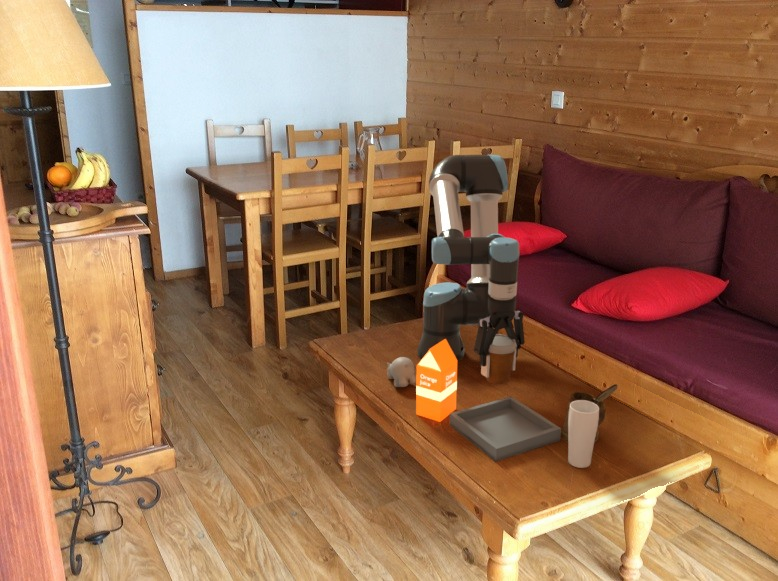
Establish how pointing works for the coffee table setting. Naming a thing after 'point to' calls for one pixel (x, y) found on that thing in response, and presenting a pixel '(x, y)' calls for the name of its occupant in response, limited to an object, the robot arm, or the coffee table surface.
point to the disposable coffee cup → (501, 359)
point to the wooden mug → (589, 397)
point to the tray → (504, 428)
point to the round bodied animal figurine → (402, 372)
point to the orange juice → (436, 383)
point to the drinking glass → (582, 432)
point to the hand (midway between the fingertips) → (498, 371)
